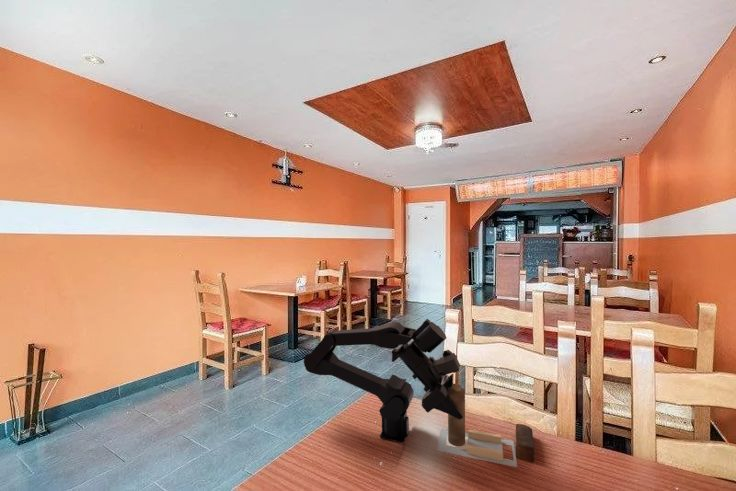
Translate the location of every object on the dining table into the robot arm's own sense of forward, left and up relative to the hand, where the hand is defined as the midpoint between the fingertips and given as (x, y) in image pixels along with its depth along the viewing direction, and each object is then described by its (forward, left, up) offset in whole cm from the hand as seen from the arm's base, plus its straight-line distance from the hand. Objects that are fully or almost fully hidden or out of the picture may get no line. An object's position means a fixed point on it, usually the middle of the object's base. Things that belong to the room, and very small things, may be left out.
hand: (462, 411), depth 81 cm
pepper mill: (-2, 0, -8) cm, 8 cm away
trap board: (+3, 0, -9) cm, 10 cm away
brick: (+14, +3, -9) cm, 18 cm away
